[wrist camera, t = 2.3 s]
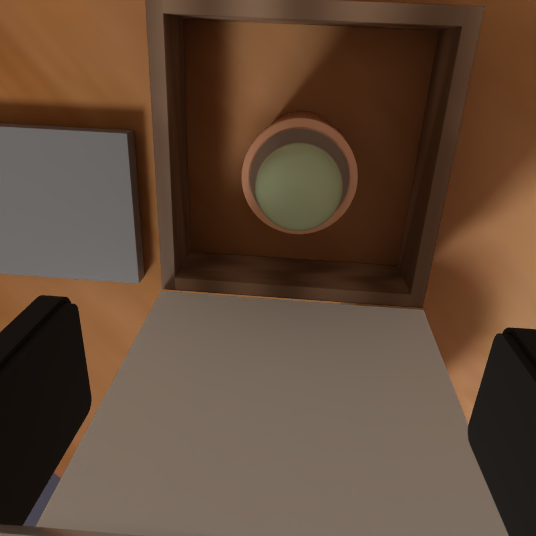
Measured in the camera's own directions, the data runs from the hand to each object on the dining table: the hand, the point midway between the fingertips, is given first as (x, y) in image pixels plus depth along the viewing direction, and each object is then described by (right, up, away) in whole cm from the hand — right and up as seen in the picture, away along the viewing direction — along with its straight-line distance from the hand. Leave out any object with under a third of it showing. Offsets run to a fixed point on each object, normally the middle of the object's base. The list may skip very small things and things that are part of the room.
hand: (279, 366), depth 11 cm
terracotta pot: (+2, +11, +24) cm, 27 cm away
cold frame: (+2, +11, +24) cm, 26 cm away
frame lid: (+1, -5, +15) cm, 16 cm away
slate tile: (-17, +7, +27) cm, 33 cm away
